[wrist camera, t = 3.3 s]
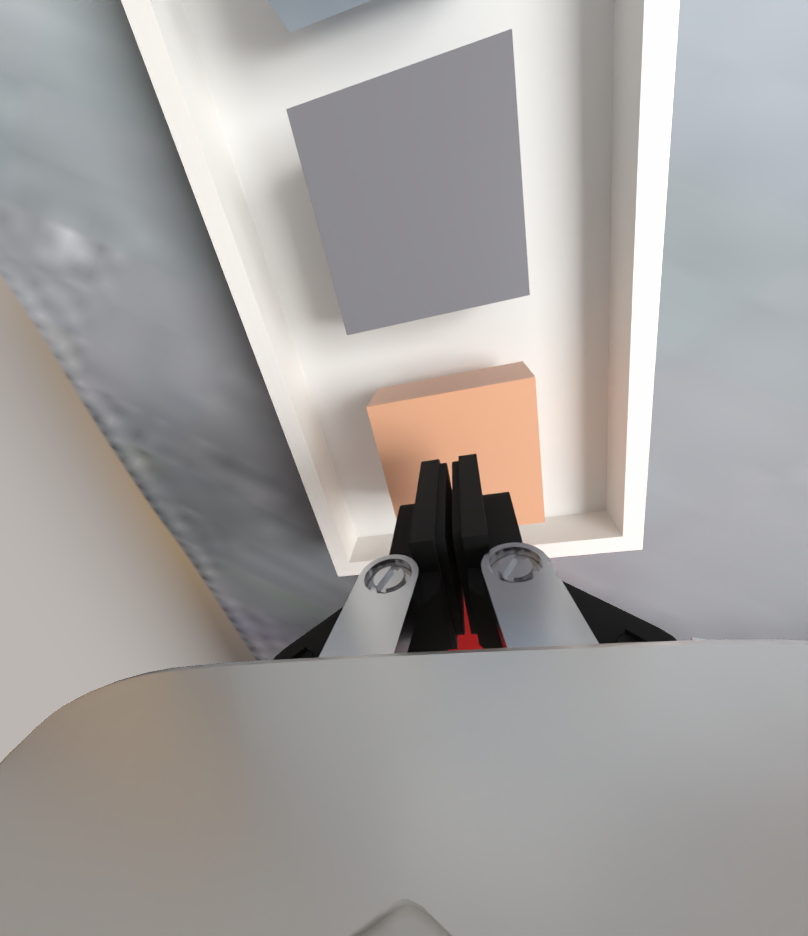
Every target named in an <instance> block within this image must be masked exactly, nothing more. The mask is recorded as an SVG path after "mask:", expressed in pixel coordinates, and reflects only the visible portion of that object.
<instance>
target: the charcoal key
mask: <svg viewBox="0 0 808 936" xmlns="http://www.w3.org/2000/svg"><path fill="white" fill-rule="evenodd" d="M286 110H287V114H288V118H289V122H290V125H291V129H292V133H293V137H294V140H295V144H296V148H297V151H298V155H299V159H300V163H301V166H302V170H303V174H304V177H305V181H306V185H307V189H308V192H309V196H310V200H311V204H312V207H313V211H314V215H315V218H316V222H317V226H318V230H319V233H320V237H321V241H322V244H323V248H324V252H325V256H326V259H327V263H328V267H329V271H330V274H331V278H332V282H333V285H334V289H335V293H336V297H337V300H338V304H339V308H340V311H341V315H342V319H343V323H344V326H345V330H346V334H347V335H351V334H356V333H360V332H365V331H369V330H374V329H378V328H383V327H387V326H392V325H396V324H401V323H405V322H410V321H414V320H419V319H424V318H428V317H433V316H437V315H442V314H446V313H451V312H455V311H460V310H464V309H469V308H473V307H478V306H482V305H487V304H491V303H496V302H501V301H505V300H510V299H514V298H519V297H523V296H528V295H530V290H529V275H528V260H527V245H526V230H525V215H524V200H523V185H522V170H521V155H520V140H519V126H518V111H517V96H516V81H515V66H514V51H513V36H512V29H510V30H507V31H504V32H501V33H498V34H496V35H493V36H490V37H487V38H484V39H482V40H479V41H476V42H473V43H470V44H468V45H465V46H462V47H459V48H456V49H454V50H451V51H448V52H445V53H442V54H439V55H437V56H434V57H431V58H428V59H425V60H423V61H420V62H417V63H414V64H411V65H409V66H406V67H403V68H400V69H397V70H395V71H392V72H389V73H386V74H383V75H381V76H378V77H375V78H372V79H369V80H367V81H364V82H361V83H358V84H355V85H353V86H350V87H347V88H344V89H341V90H339V91H336V92H333V93H330V94H327V95H325V96H322V97H319V98H316V99H313V100H311V101H308V102H305V103H302V104H299V105H297V106H294V107H291V108H288V109H286Z"/></svg>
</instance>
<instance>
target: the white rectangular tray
mask: <svg viewBox="0 0 808 936" xmlns="http://www.w3.org/2000/svg"><path fill="white" fill-rule="evenodd" d="M121 2H122V4H123V7H124V10H125V12H126V15H127V18H128V20H129V23H130V26H131V28H132V31H133V34H134V36H135V39H136V42H137V44H138V47H139V50H140V52H141V55H142V57H143V60H144V63H145V65H146V68H147V71H148V73H149V76H150V79H151V81H152V84H153V87H154V89H155V92H156V95H157V97H158V100H159V103H160V105H161V108H162V111H163V113H164V116H165V118H166V121H167V124H168V126H169V129H170V132H171V134H172V137H173V140H174V142H175V145H176V148H177V150H178V153H179V156H180V158H181V161H182V164H183V166H184V169H185V172H186V174H187V177H188V179H189V182H190V185H191V187H192V190H193V193H194V195H195V198H196V201H197V203H198V206H199V209H200V211H201V214H202V217H203V219H204V222H205V225H206V227H207V230H208V233H209V235H210V238H211V240H212V243H213V246H214V248H215V251H216V254H217V256H218V259H219V262H220V264H221V267H222V270H223V272H224V275H225V278H226V280H227V283H228V286H229V288H230V291H231V294H232V296H233V299H234V301H235V304H236V307H237V309H238V312H239V315H240V317H241V320H242V323H243V325H244V328H245V331H246V333H247V336H248V339H249V341H250V344H251V347H252V349H253V352H254V355H255V357H256V360H257V362H258V365H259V368H260V370H261V373H262V376H263V378H264V381H265V384H266V386H267V389H268V392H269V394H270V397H271V400H272V402H273V405H274V408H275V410H276V413H277V416H278V418H279V421H280V423H281V426H282V429H283V431H284V434H285V437H286V439H287V442H288V445H289V447H290V450H291V453H292V455H293V458H294V461H295V463H296V466H297V469H298V471H299V474H300V477H301V479H302V482H303V484H304V487H305V490H306V492H307V495H308V498H309V500H310V503H311V506H312V508H313V511H314V514H315V516H316V519H317V522H318V524H319V527H320V530H321V532H322V535H323V538H324V540H325V543H326V545H327V548H328V551H329V553H330V556H331V559H332V561H333V564H334V567H335V569H336V572H337V575H338V576H349V575H360V573H361V572H362V570H363V569H364V568H365V567H366V566H367V565H368V564H369V563H371V562H372V561H374V560H376V559H378V558H380V557H383V556H387V555H389V553H390V548H391V544H392V539H393V534H394V530H395V525H396V521H397V520H396V516H395V512H394V509H393V505H392V501H391V498H390V494H389V490H388V486H387V483H386V479H385V475H384V471H383V468H382V464H381V460H380V457H379V453H378V449H377V445H376V442H375V438H374V434H373V431H372V427H371V423H370V419H369V416H368V412H367V408H366V407H367V405H368V404H369V402H370V400H371V399H372V397H373V396H374V394H375V393H376V391H377V390H378V388H383V387H388V386H393V385H399V384H404V383H409V382H414V381H420V380H425V379H430V378H436V377H441V376H446V375H452V374H457V373H462V372H468V371H473V370H478V369H483V368H489V367H494V366H499V365H505V364H510V363H515V362H521V361H523V362H524V363H525V364H526V366H527V367H528V368H529V369H530V371H531V372H532V373H533V374H534V376H535V380H536V395H537V409H538V424H539V439H540V454H541V469H542V484H543V499H544V514H545V522H544V523H535V524H525V525H518V526H519V530H520V534H521V538H522V542H523V543H526V544H529V545H533V546H535V547H537V548H539V549H540V550H542V551H543V552H544V553H545V554H546V555H547V556H548V558H552V557H563V556H574V555H586V554H597V553H608V552H619V551H631V550H642V548H643V533H644V518H645V504H646V489H647V475H648V460H649V445H650V431H651V416H652V401H653V387H654V372H655V358H656V343H657V328H658V314H659V299H660V285H661V270H662V255H663V241H664V226H665V212H666V197H667V182H668V168H669V153H670V138H671V124H672V109H673V95H674V80H675V65H676V51H677V36H678V22H679V7H680V0H371V1H368V2H366V3H363V4H360V5H358V6H355V7H353V8H350V9H348V10H345V11H343V12H340V13H338V14H335V15H333V16H330V17H328V18H325V19H323V20H320V21H318V22H315V23H313V24H310V25H308V26H305V27H303V28H300V29H298V30H295V31H293V32H289V31H288V29H287V28H286V26H285V25H284V23H283V22H282V21H281V19H280V18H279V16H278V15H277V13H276V12H275V10H274V9H273V7H272V6H271V4H270V3H269V1H268V0H121ZM510 29H512V36H513V51H514V66H515V81H516V96H517V111H518V126H519V140H520V155H521V170H522V185H523V200H524V215H525V230H526V245H527V260H528V275H529V290H530V295H528V296H523V297H519V298H514V299H510V300H505V301H501V302H496V303H491V304H487V305H482V306H478V307H473V308H469V309H464V310H460V311H455V312H451V313H446V314H442V315H437V316H433V317H428V318H424V319H419V320H414V321H410V322H405V323H401V324H396V325H392V326H387V327H383V328H378V329H374V330H369V331H365V332H360V333H356V334H351V335H347V334H346V330H345V326H344V323H343V319H342V315H341V311H340V308H339V304H338V300H337V297H336V293H335V289H334V285H333V282H332V278H331V274H330V271H329V267H328V263H327V259H326V256H325V252H324V248H323V244H322V241H321V237H320V233H319V230H318V226H317V222H316V218H315V215H314V211H313V207H312V204H311V200H310V196H309V192H308V189H307V185H306V181H305V177H304V174H303V170H302V166H301V163H300V159H299V155H298V151H297V148H296V144H295V140H294V137H293V133H292V129H291V125H290V122H289V118H288V114H287V110H286V109H288V108H291V107H294V106H297V105H299V104H302V103H305V102H308V101H311V100H313V99H316V98H319V97H322V96H325V95H327V94H330V93H333V92H336V91H339V90H341V89H344V88H347V87H350V86H353V85H355V84H358V83H361V82H364V81H367V80H369V79H372V78H375V77H378V76H381V75H383V74H386V73H389V72H392V71H395V70H397V69H400V68H403V67H406V66H409V65H411V64H414V63H417V62H420V61H423V60H425V59H428V58H431V57H434V56H437V55H439V54H442V53H445V52H448V51H451V50H454V49H456V48H459V47H462V46H465V45H468V44H470V43H473V42H476V41H479V40H482V39H484V38H487V37H490V36H493V35H496V34H498V33H501V32H504V31H507V30H510Z"/></svg>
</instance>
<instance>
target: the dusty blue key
mask: <svg viewBox="0 0 808 936" xmlns="http://www.w3.org/2000/svg"><path fill="white" fill-rule="evenodd" d="M268 1H269V3H270V4H271V6H272V7H273V9H274V10H275V12H276V13H277V15H278V16H279V18H280V19H281V21H282V22H283V23H284V25H285V26H286V28H287V29H288V31H289V32H293V31H295V30H298V29H300V28H303V27H305V26H308V25H310V24H313V23H315V22H318V21H320V20H323V19H325V18H328V17H330V16H333V15H335V14H338V13H340V12H343V11H345V10H348V9H350V8H353V7H355V6H358V5H360V4H363V3H366V2H368V1H371V0H268Z"/></svg>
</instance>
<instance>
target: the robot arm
mask: <svg viewBox="0 0 808 936" xmlns="http://www.w3.org/2000/svg"><path fill="white" fill-rule="evenodd" d="M458 460H459V461H454V462H452V487H451V482H450V476H449V471H448V466H447V463H440V460H439V459H436V460H429V461H422V462H421V466H420V473H419V479H418V486H417V492H416V498H415V504H407V505H401V506H400V508H399V511H398V516H397V521H396V525H395V530H394V534H393V539H392V544H391V548H390V553H389V555H387V556H383V557H380V558H378V559H376V560H374V561H372V562H371V563H369V564H368V565H367V566H366V567H365V568H364V569H363V570H362V572H361V573H360V575H359V577H358V579H357V581H356V583H355V585H354V587H353V589H352V591H351V593H350V595H349V597H348V599H347V601H346V603H345V605H344V607H342V608H341V609H340V610H338V611H337V612H335V613H334V614H333V615H331V616H330V617H328V618H327V619H326V620H324V621H323V622H321V623H320V624H319V625H317V626H316V627H314V628H313V629H312V630H310V631H309V632H307V633H306V634H305V635H303V636H302V637H300V638H299V639H298V640H296V641H295V642H293V643H292V644H291V645H289V646H288V647H286V648H285V649H284V650H283V651H282V652H280V653H279V654H278V655H277V656H276V657H275V658H274V660H267V659H263V660H259V661H247V662H231V663H218V664H209V665H199V666H187V667H177V668H170V669H164V670H158V671H153V672H148V673H144V674H140V675H137V676H133V677H130V678H126V679H123V680H119V681H117V682H114V683H112V684H109V685H107V686H104V687H102V688H99V689H97V690H94V691H92V692H89V693H87V694H85V695H83V696H81V697H79V698H77V699H75V700H74V701H72V702H70V703H68V704H66V705H65V706H63V707H61V708H60V709H58V710H57V711H56V712H54V713H53V714H52V715H50V716H49V717H48V718H47V719H45V720H44V721H43V722H42V723H41V724H40V725H39V726H37V727H36V728H35V729H34V730H33V731H32V732H31V733H30V734H29V735H28V736H27V737H26V738H25V739H24V740H23V741H22V742H21V743H20V744H19V745H18V746H17V747H16V748H15V749H14V750H13V751H12V752H10V753H9V755H7V757H6V758H5V759H4V760H3V761H2V762H1V763H0V936H808V641H803V640H785V639H736V640H710V639H702V638H694V637H692V638H691V640H683V641H677V640H676V639H675V638H674V637H673V636H671V635H670V634H668V633H666V632H665V631H663V630H662V629H660V628H658V627H656V626H654V625H652V624H650V623H648V622H646V621H644V620H642V619H640V618H637V617H635V616H633V615H631V614H629V613H627V612H625V611H623V610H621V609H619V608H617V607H615V606H613V605H611V604H609V603H606V602H604V601H602V600H600V599H598V598H596V597H594V596H592V595H590V594H588V593H586V592H584V591H582V590H580V589H578V588H576V587H573V586H571V585H569V584H567V583H565V582H563V581H562V580H561V578H560V576H559V575H558V573H557V571H556V570H555V568H554V566H553V565H552V563H551V561H550V560H549V558H548V556H547V555H546V554H545V553H544V552H543V551H542V550H540V549H539V548H537V547H535V546H533V545H529V544H526V543H523V542H522V538H521V534H520V530H519V526H518V523H517V519H516V515H515V511H514V508H513V504H512V500H511V496H510V493H509V492H502V493H494V494H486V495H482V489H481V482H480V475H479V468H478V461H477V455H476V454H470V455H463V456H458ZM464 600H465V605H466V610H467V615H468V620H469V625H470V630H471V634H477V636H478V641H479V645H480V646H481V647H482V648H484V649H472V650H451V651H448V650H450V649H458V635H465V618H464Z"/></svg>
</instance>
